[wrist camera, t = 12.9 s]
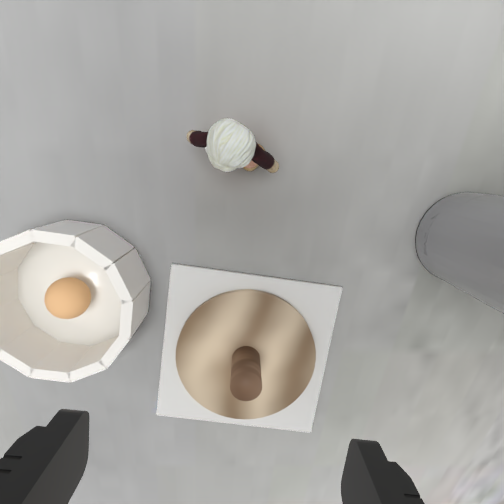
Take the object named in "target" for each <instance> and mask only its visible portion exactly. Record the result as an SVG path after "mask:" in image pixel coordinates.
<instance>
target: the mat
mask: <svg viewBox="0 0 504 504" xmlns="http://www.w3.org/2000/svg"><path fill="white" fill-rule="evenodd" d="M241 289H251V290H259V291H264V292H268V293H271V294H274V295H276V296H278V297H280V298H282V299H284V300H285V301H287V302H288V303H290V304H291V305H292V306H293V307H294V308H296V309H297V311H298V312H299V313H300V314H301V315H302V316H303V318H304V319H305V321H306V322H307V324H308V327H309V329H310V331H311V333H312V336H313V339H314V343H315V349H316V361H315V368H314V372H313V375H312V377H311V380H310V382H309V384H308V385H307V387H306V389H305V390H304V391H303V393H302V394H301V395H300V396H299V397H298V398H297V399H296V400H295V401H294V402H293V403H292V404H290V405H289V406H288V407H286V408H285V409H283V410H281V411H279V412H277V413H275V414H272V415H269V416H266V417H262V418H257V419H234V418H228V417H225V416H221V415H218V414H216V413H214V412H211V411H210V410H208V409H206V408H204V407H203V406H202V405H200V404H199V403H198V402H197V401H196V400H194V399H193V398H192V397H191V395H190V394H189V393H188V392H187V390H186V389H185V387H184V385H183V384H182V382H181V380H180V377H179V375H178V371H177V367H176V346H177V341H178V338H179V335H180V333H181V330H182V328H183V326H184V324H185V322H186V321H187V319H188V318H189V316H190V315H191V314H192V313H193V312H194V311H195V310H196V308H198V307H199V306H200V305H201V304H202V303H204V302H205V301H207V300H209V299H210V298H212V297H214V296H216V295H219V294H221V293H225V292H228V291H233V290H241ZM341 293H342V286H335V285H327V284H320V283H313V282H305V281H298V280H291V279H284V278H276V277H269V276H262V275H255V274H247V273H240V272H233V271H226V270H218V269H211V268H204V267H196V266H189V265H182V264H175V263H172V264H171V273H170V283H169V293H168V303H167V313H166V322H165V332H164V342H163V352H162V362H161V372H160V382H159V392H158V402H157V412H156V415H160V416H169V417H178V418H186V419H195V420H204V421H213V422H221V423H230V424H239V425H247V426H256V427H265V428H274V429H282V430H291V431H300V432H309V433H311V430H312V425H313V421H314V416H315V412H316V407H317V402H318V398H319V393H320V389H321V384H322V380H323V375H324V370H325V366H326V361H327V357H328V352H329V348H330V343H331V338H332V334H333V329H334V325H335V320H336V316H337V311H338V306H339V302H340V297H341Z"/></svg>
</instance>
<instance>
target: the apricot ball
mask: <svg viewBox="0 0 504 504" xmlns="http://www.w3.org/2000/svg"><path fill="white" fill-rule="evenodd" d="M44 302H45V306H46V308H47V310H48V311H49V312H50V313H51V314H52V315H53V316H55V317H58V318H61V319H72V318H75V317H78V316H80V315H81V314H83V313H84V312H85V311H86V310H87V308H88V307H89V305H90V302H91V292H90V289H89V287H88V286H87V285H86V284H85V283H84V282H83V281H82V280H80V279H77V278H73V277H66V278H61V279H59V280H56V281H55V282H53V283H52V284H51V285H50V286H49V287H48V289H47V291H46V293H45V297H44Z"/></svg>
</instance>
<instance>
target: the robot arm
mask: <svg viewBox="0 0 504 504" xmlns="http://www.w3.org/2000/svg"><path fill="white" fill-rule="evenodd" d="M416 250H417V253H418V257H419V259H420V261H421V263H422V264H423V266H424V267H425V268H426V269H427V270H428V271H429V272H431V273H432V274H434V275H435V276H437V277H439V278H441V279H442V280H444V281H446V282H448V283H450V284H451V285H453V286H455V287H456V288H458V289H460V290H462V291H464V292H465V293H467V294H469V295H471V296H473V297H475V298H476V299H478V300H480V301H482V302H484V303H485V304H487V305H489V306H491V307H493V308H494V309H496V310H498V311H500V312H502V313H504V196H502V195H492V194H482V193H472V192H464V193H457V194H453V195H449V196H447V197H445V198H443V199H441V200H440V201H438V202H437V203H436V204H434V205H433V206H432V207H431V208H430V209H429V210H428V211H427V213H426V214H425V215H424V217H423V219H422V220H421V222H420V225H419V227H418V230H417V235H416ZM88 448H89V413H88V412H87V411H79V410H69V409H61V410H59V411H58V412H57V414H56V415H55V416H54V417H53V419H52V420H51V421H50V422H49V424H48V425H47V426H46V427H42V426H36V427H35V428H33V429H32V430H30V431H29V432H27V433H26V434H24V435H23V436H21V437H20V438H18V439H17V440H16V442H15V443H14V444H13V445H12V446H11V447H10V449H9V450H8V451H7V452H6V453H5V454H4V457H3V458H1V459H0V504H68V502H69V500H70V498H71V497H72V495H73V493H74V491H75V489H76V487H77V485H78V484H79V482H80V480H81V478H82V476H83V473H84V471H85V468H86V464H87V460H88ZM341 496H342V502H343V504H424V502H423V500H422V499H420V494H419V493H418V491H417V489H416V487H415V485H414V483H413V481H412V479H411V478H410V477H409V475H408V474H407V473H406V472H405V471H404V470H403V469H402V468H401V467H400V466H399V465H398V464H397V463H396V462H389V461H388V460H387V458H386V456H385V454H384V452H383V450H382V448H381V446H380V444H379V443H378V442H377V441H370V440H360V439H352V440H351V441H350V444H349V448H348V453H347V457H346V462H345V466H344V471H343V475H342V480H341Z"/></svg>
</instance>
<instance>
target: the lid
mask: <svg viewBox="0 0 504 504" xmlns="http://www.w3.org/2000/svg"><path fill="white" fill-rule="evenodd" d="M315 361H316V349H315V343H314V339H313V336H312V333H311V331H310V329H309V327H308V324H307V322H306V321H305V319H304V318H303V316H302V315H301V314H300V313H299V312H298V311H297V309H296V308H294V307H293V306H292V305H291V304H290V303H288V302H287V301H285V300H284V299H282V298H280V297H278V296H276V295H274V294H271V293H268V292H264V291H259V290H251V289H241V290H233V291H228V292H225V293H221V294H219V295H216V296H214V297H212V298H210V299H209V300H207V301H205V302H204V303H202V304H201V305H200V306H199V307H198V308H196V310H195V311H194V312H193V313H192V314H191V315H190V316H189V318H188V319H187V321H186V322H185V324H184V326H183V328H182V330H181V333H180V335H179V338H178V341H177V346H176V367H177V371H178V375H179V377H180V380H181V382H182V384H183V385H184V387H185V389H186V390H187V392H188V393H189V394H190V395H191V397H192V398H193V399H194V400H196V401H197V402H198V403H199V404H200V405H202V406H203V407H204V408H206V409H208V410H210V411H211V412H214V413H216V414H218V415H221V416H225V417H228V418H234V419H257V418H262V417H266V416H269V415H272V414H275V413H277V412H279V411H281V410H283V409H285V408H286V407H288V406H289V405H290V404H292V403H293V402H294V401H295V400H296V399H297V398H298V397H299V396H300V395H301V394H302V393H303V391H304V390H305V389H306V387H307V385H308V384H309V382H310V380H311V377H312V375H313V372H314V368H315Z"/></svg>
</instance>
